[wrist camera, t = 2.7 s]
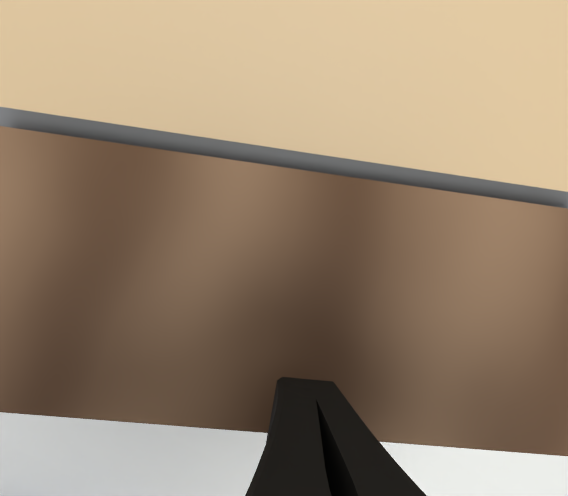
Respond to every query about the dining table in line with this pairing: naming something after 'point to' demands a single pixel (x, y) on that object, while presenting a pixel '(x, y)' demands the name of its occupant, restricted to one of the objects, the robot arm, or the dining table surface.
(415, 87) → the base board
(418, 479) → the dining table surface
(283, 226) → the walnut plank
